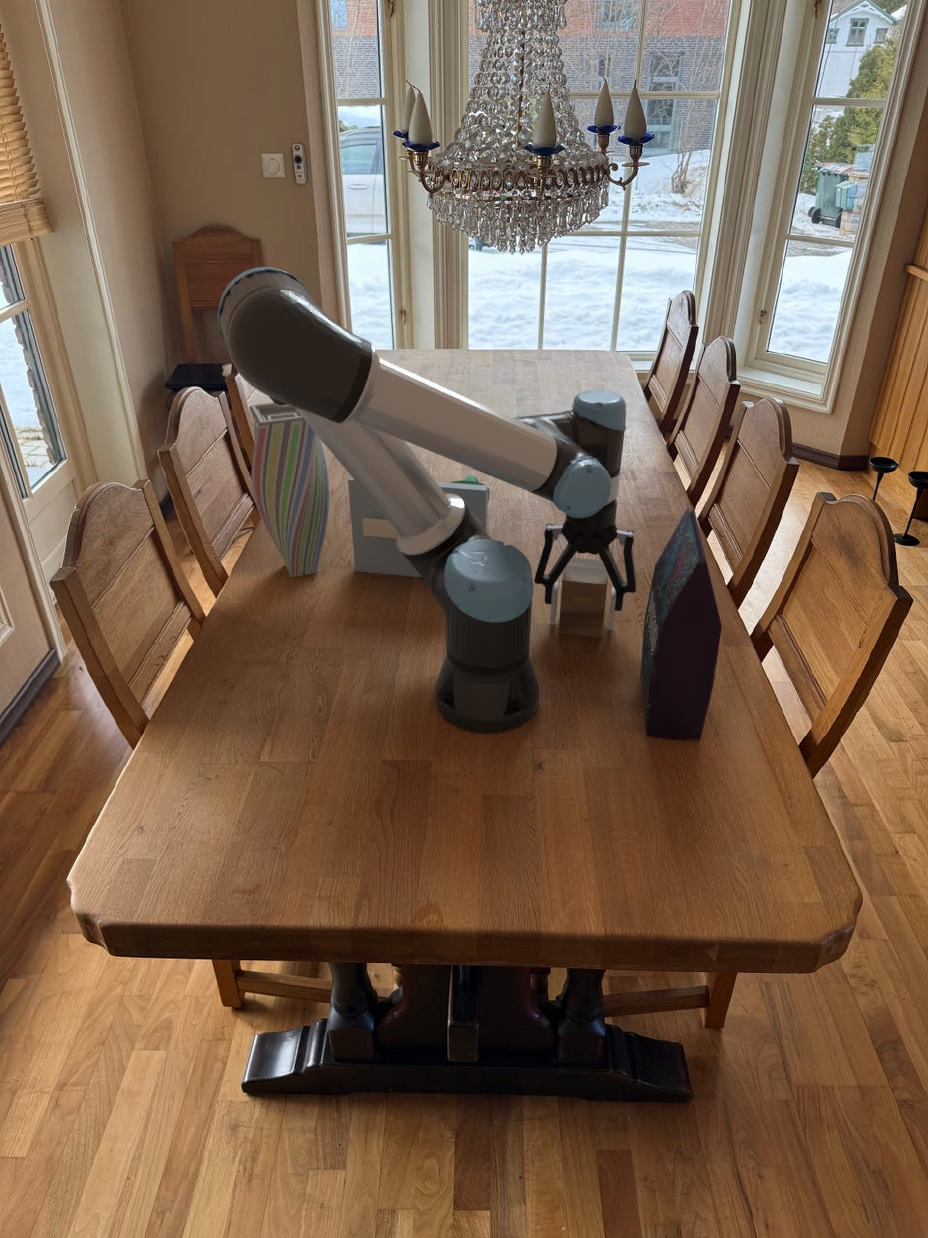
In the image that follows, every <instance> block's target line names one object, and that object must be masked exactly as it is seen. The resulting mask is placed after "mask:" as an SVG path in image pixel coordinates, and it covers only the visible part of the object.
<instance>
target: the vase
mask: <svg viewBox="0 0 928 1238" xmlns="http://www.w3.org/2000/svg"><path fill="white" fill-rule="evenodd" d="M248 409H249V411H250V414H251V418H252V422H253V428H254V429H253V430H254V431H253V432H254V443H253V453H252V463H251V487H252V493H253V497H254V501H255V502H254V503H255V504H256V508H257V511H258V513H259V515H260V516H259V517H260V518H261V520H262V522H263V524H264V527H265V529H266V530H267V533H268V534H269V536H270V538H271V540H272V541H273V543H274V545H275V547H276V549H277V551H278V552H279V554H280V556H281V558H282V560H283V563H284V565H285V568H286V570H287V573H288V575H289V577H290V578H295V577H300V576H303V575H304V576H305V575H311V574H316V573H318V570H319V563H320V559H321V555H322V551H323V547H324V542H325V538H326V532H327V528H328V527H327V525H328V519H329V509H330V483H329V481H330V480H329V472H328V465H327V461H326V455H325V452H324V448H323V443H322V440H321V439H320V438H319V437H318V436H317V434H316V433H315V432H314V431H313V430H312V428H311V427H310V426H309V425H308V424H307V423H306V421H305V420H304V419H303V418H302V417H301V415H300V414H299V413H298V412H297V411H296V409H294V408H287V407H278V406H277V405H276V404H275V403H274V402H273V401H272V402H265V403H258V404H257V403H256V404H250V406H248Z"/></svg>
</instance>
